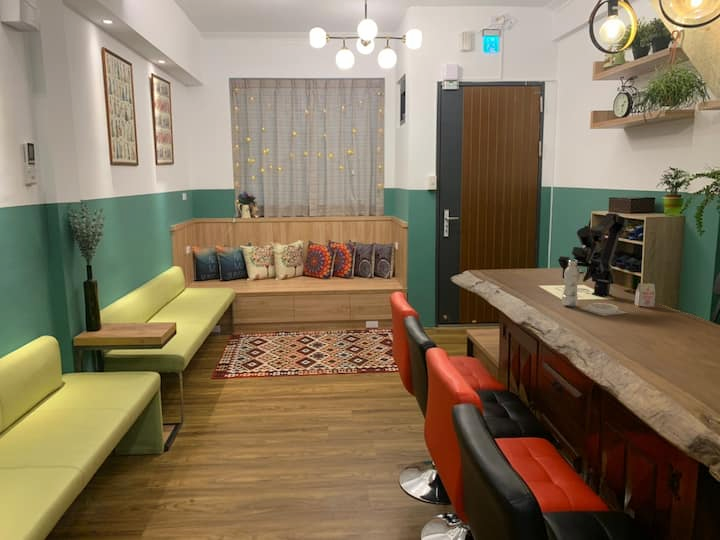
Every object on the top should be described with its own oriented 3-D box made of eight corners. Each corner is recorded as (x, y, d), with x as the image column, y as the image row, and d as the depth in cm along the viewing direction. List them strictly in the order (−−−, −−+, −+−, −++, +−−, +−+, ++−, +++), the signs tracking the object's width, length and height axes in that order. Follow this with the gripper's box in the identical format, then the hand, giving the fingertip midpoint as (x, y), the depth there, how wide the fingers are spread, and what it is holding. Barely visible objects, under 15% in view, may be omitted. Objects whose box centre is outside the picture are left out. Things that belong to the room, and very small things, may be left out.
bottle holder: (602, 306, 250) (602, 301, 250) (626, 313, 238) (627, 308, 238) (579, 308, 245) (579, 303, 245) (603, 315, 233) (603, 310, 233)
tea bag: (634, 304, 254) (636, 282, 252) (649, 305, 254) (652, 283, 252) (638, 306, 250) (640, 284, 248) (653, 307, 250) (656, 284, 248)
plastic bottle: (577, 305, 251) (581, 260, 247) (576, 308, 245) (580, 262, 241) (562, 303, 254) (565, 258, 250) (560, 306, 248) (564, 261, 244)
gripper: (561, 238, 256) (547, 264, 250) (603, 242, 243) (589, 271, 237) (568, 254, 262) (554, 280, 257) (609, 259, 249) (596, 287, 244)
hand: (573, 279), depth 248 cm, fingers open, 9 cm apart
